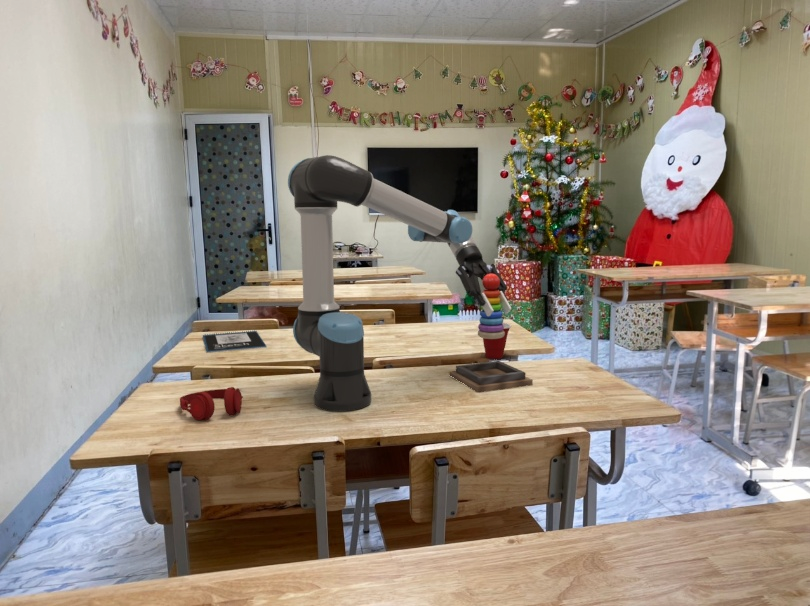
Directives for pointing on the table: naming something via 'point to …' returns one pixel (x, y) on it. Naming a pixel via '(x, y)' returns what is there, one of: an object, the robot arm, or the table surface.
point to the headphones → (211, 402)
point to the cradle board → (490, 376)
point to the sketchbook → (233, 341)
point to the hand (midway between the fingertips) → (499, 312)
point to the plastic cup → (496, 344)
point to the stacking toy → (493, 323)
